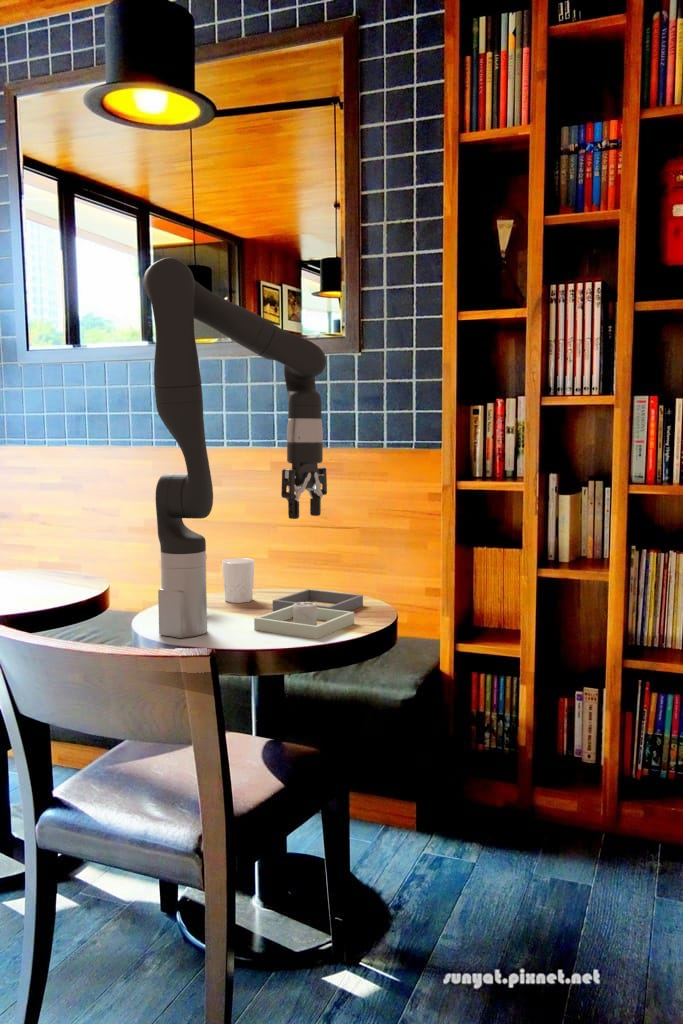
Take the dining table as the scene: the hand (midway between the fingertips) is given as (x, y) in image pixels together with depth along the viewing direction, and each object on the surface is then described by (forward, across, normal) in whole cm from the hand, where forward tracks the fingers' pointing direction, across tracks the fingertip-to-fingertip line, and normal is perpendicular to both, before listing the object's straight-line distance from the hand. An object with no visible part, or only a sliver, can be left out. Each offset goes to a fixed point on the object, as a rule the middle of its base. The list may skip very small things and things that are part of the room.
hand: (304, 517), depth 175 cm
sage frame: (+24, 0, 0) cm, 24 cm away
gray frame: (+24, +17, +7) cm, 30 cm away
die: (+24, 0, 0) cm, 24 cm away
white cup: (+24, +15, +29) cm, 41 cm away
